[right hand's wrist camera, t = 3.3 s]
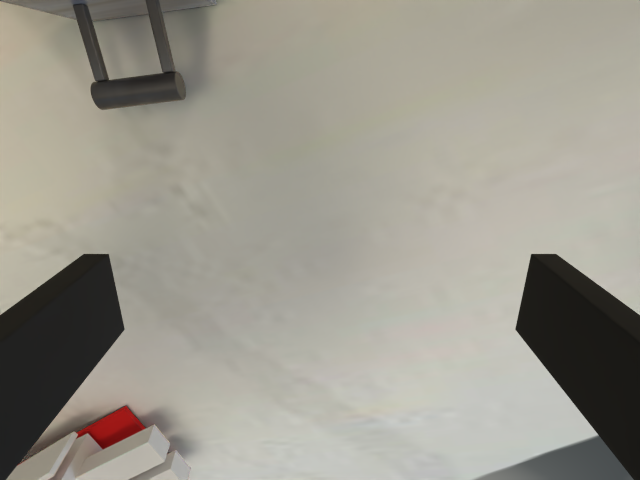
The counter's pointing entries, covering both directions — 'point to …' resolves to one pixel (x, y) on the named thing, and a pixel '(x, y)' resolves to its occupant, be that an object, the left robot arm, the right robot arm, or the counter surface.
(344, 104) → the counter surface
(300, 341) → the counter surface
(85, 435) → the toy
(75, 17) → the drawer
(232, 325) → the counter surface
